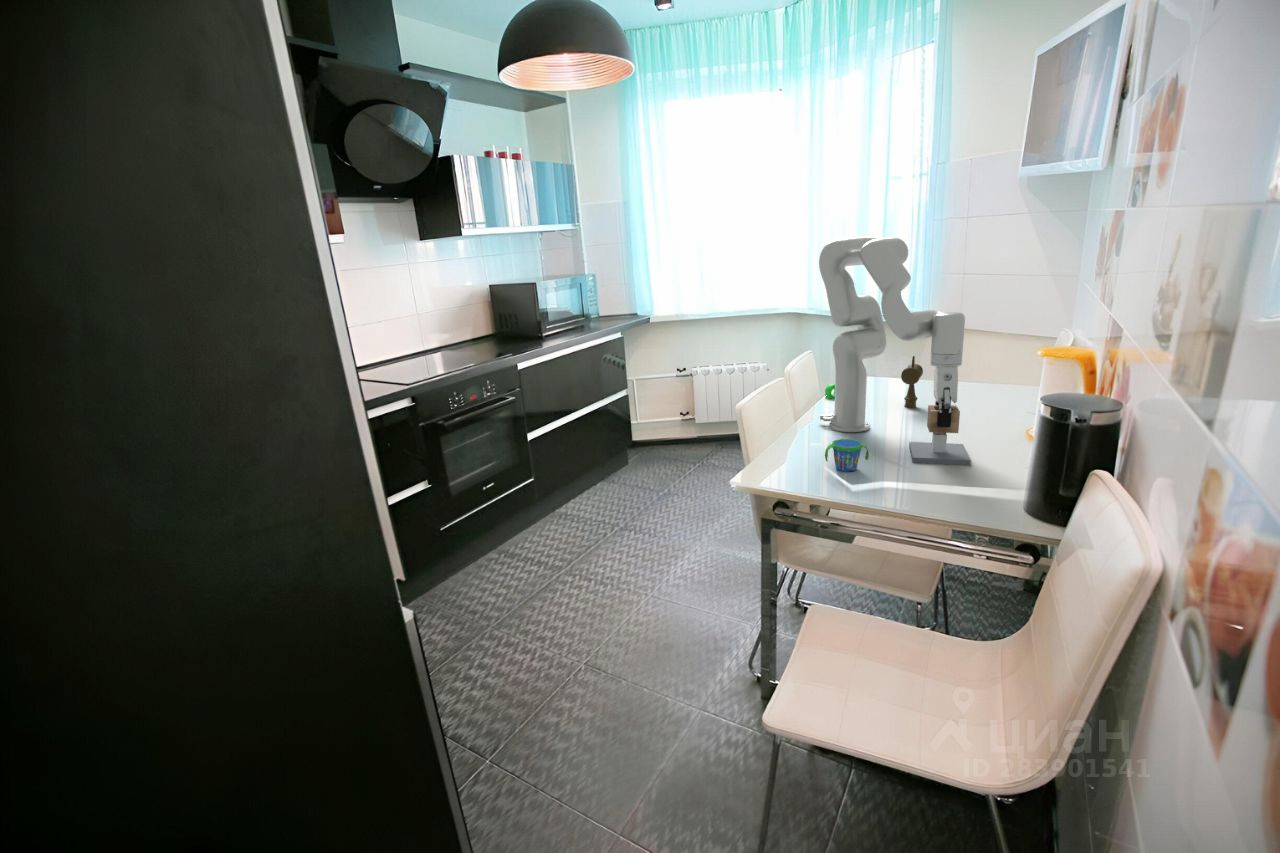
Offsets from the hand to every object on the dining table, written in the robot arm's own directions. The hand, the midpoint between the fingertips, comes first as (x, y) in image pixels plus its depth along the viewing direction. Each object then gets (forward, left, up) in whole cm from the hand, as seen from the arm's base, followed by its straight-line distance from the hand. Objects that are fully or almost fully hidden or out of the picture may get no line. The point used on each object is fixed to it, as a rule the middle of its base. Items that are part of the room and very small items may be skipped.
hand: (941, 422), depth 160 cm
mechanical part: (-27, +57, -10) cm, 64 cm away
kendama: (-4, +48, -10) cm, 49 cm away
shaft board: (0, 0, -10) cm, 10 cm away
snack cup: (-24, -15, -10) cm, 30 cm away
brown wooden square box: (0, 0, -2) cm, 2 cm away
